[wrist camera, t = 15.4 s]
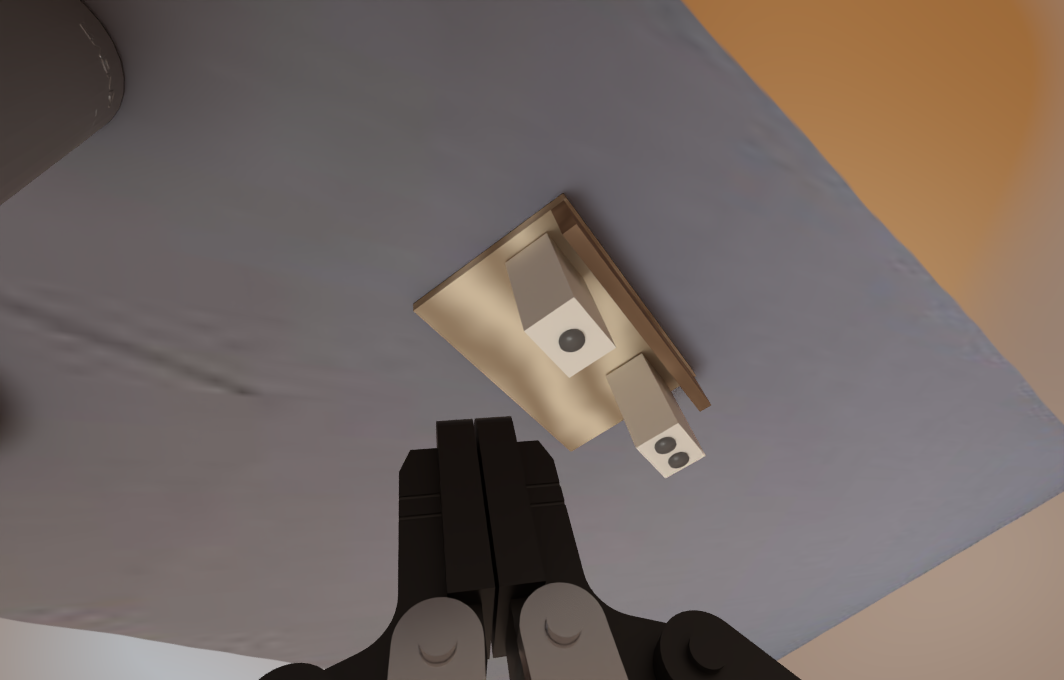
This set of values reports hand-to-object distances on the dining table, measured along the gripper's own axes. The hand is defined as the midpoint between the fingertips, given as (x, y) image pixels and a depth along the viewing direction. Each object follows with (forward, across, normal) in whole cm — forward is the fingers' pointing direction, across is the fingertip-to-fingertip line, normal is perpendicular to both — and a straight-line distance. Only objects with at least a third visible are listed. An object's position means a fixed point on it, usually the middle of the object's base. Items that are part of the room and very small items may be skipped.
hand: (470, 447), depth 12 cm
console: (+32, -12, +22) cm, 41 cm away
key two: (+31, -19, +26) cm, 45 cm away
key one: (+31, -9, +14) cm, 35 cm away
